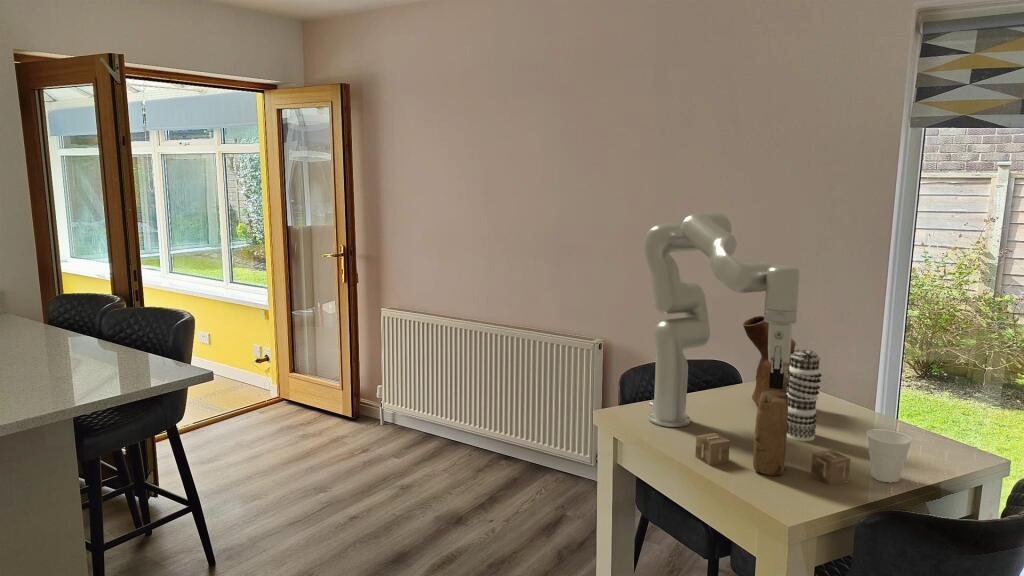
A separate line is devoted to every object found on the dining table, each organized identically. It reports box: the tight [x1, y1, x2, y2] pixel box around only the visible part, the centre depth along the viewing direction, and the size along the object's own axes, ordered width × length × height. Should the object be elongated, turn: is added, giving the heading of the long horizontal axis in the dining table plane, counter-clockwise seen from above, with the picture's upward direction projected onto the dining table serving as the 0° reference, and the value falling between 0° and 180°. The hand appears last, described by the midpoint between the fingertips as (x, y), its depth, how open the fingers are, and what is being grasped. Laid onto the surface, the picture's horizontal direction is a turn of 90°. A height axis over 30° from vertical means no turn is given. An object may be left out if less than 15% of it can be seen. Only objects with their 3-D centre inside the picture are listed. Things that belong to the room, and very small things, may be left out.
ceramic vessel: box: [742, 315, 797, 406], centre depth 222 cm, size 16×22×30 cm
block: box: [752, 391, 788, 476], centre depth 174 cm, size 11×8×20 cm
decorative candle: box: [786, 348, 822, 442], centre depth 197 cm, size 9×9×25 cm
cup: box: [866, 428, 913, 484], centre depth 170 cm, size 10×10×11 cm
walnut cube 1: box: [694, 432, 731, 467], centre depth 180 cm, size 6×6×6 cm
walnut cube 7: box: [810, 449, 851, 486], centre depth 170 cm, size 6×6×6 cm
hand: (775, 387), depth 172 cm, fingers closed
